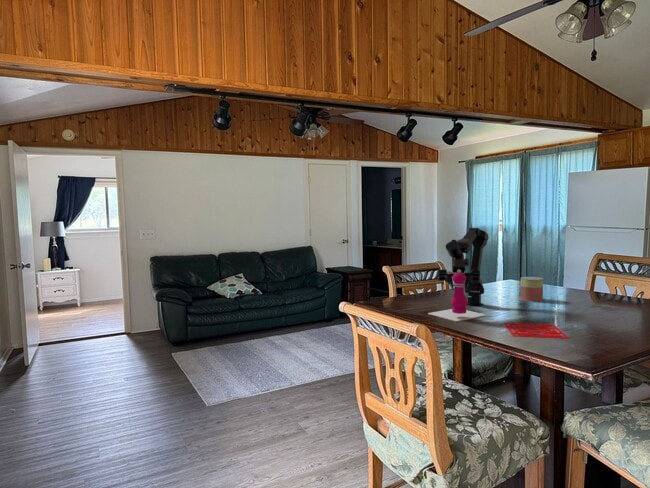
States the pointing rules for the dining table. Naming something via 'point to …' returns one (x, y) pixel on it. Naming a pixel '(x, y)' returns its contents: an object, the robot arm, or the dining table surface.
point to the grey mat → (456, 315)
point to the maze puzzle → (538, 326)
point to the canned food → (532, 289)
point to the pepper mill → (459, 293)
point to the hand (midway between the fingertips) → (459, 290)
